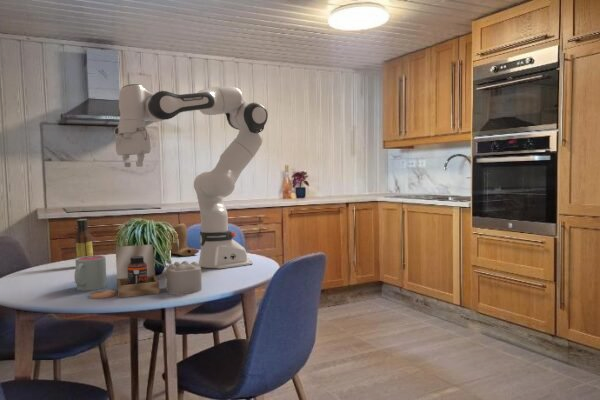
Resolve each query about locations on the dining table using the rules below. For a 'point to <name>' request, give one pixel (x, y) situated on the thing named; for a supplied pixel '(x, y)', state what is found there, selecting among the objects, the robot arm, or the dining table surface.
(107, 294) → the saucer
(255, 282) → the dining table surface
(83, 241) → the sauce bottle
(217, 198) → the robot arm
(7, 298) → the dining table surface
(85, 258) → the mug
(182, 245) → the brown boot
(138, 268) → the supplement bottle
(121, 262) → the cold frame
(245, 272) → the dining table surface
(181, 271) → the lumpy-topped squat cylinder
